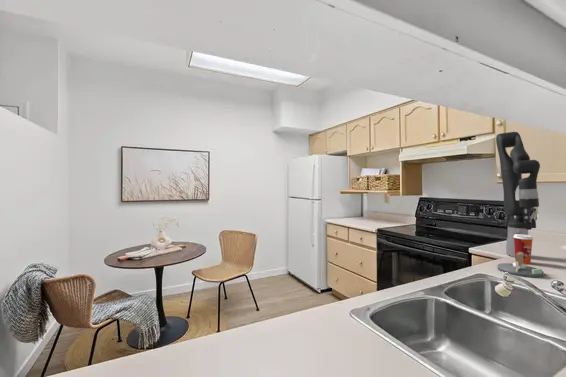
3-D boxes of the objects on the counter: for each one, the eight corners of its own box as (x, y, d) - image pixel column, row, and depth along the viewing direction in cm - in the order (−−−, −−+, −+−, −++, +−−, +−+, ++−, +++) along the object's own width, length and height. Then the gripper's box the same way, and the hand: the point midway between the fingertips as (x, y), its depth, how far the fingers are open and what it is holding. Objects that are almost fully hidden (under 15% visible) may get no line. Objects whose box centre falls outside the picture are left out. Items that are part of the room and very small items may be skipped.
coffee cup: (528, 265, 140) (529, 237, 140) (509, 261, 148) (510, 234, 147) (536, 263, 144) (536, 235, 144) (517, 259, 151) (517, 233, 151)
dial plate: (501, 264, 143) (501, 257, 143) (545, 271, 131) (545, 264, 130) (493, 271, 132) (493, 264, 132) (541, 280, 120) (541, 272, 119)
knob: (514, 265, 136) (514, 251, 135) (527, 267, 132) (527, 253, 132) (510, 269, 129) (510, 254, 129) (523, 272, 125) (524, 256, 125)
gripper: (523, 197, 147) (525, 227, 146) (515, 198, 139) (517, 229, 138) (541, 197, 141) (544, 228, 140) (534, 198, 133) (537, 230, 132)
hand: (531, 228), depth 139 cm, fingers open, 8 cm apart
